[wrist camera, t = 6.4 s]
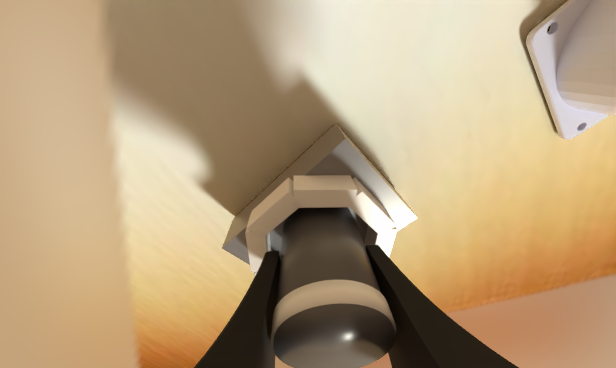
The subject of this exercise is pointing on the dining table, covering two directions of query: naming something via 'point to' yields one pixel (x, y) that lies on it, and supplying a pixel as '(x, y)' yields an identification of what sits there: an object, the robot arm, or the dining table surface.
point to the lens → (328, 295)
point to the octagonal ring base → (321, 199)
